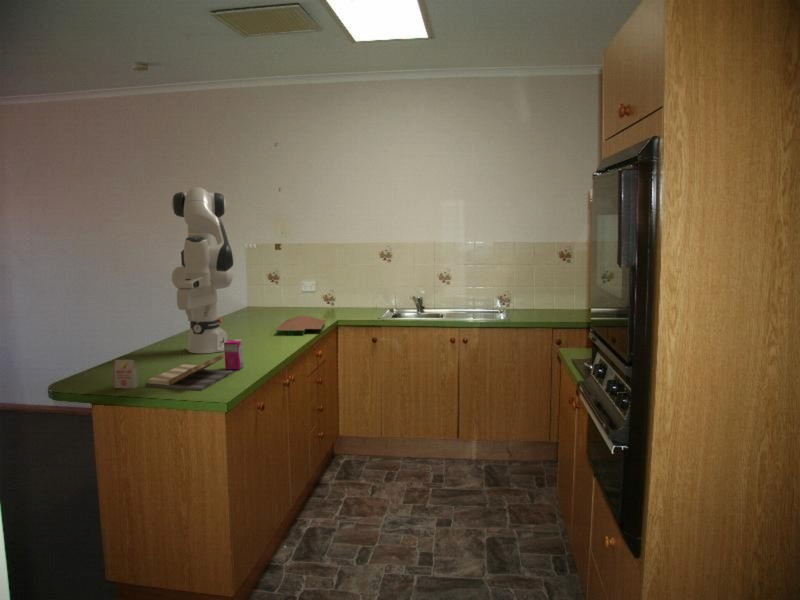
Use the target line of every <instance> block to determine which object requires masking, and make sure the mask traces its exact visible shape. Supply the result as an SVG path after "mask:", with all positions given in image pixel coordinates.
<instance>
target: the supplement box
mask: <svg viewBox="0 0 800 600" xmlns="http://www.w3.org/2000/svg"><path fill="white" fill-rule="evenodd" d="M223 352H224V365H225V366H224V367H225V370H227V371H234V370H239V371H241V370H242V369H243V368H244V367H243V366H244V353H243V339H228V341H226V342H225V343H224V351H223ZM242 367H243V368H242ZM241 368H242V369H241ZM240 369H241V370H240Z"/></svg>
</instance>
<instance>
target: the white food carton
mask: <svg viewBox="0 0 800 600" xmlns="http://www.w3.org/2000/svg"><path fill="white" fill-rule="evenodd" d="M113 361H114V362H113V369H112V379H113V380H112V382H113V383H112V384H113V389H114V388H125V389H124V390H131V389H132V390H133V389H135V388H137V387H138V386H139V385H138V384H139V382H138V381H139V379H138V369H137V366H136V362H135V359H114V360H113Z"/></svg>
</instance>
